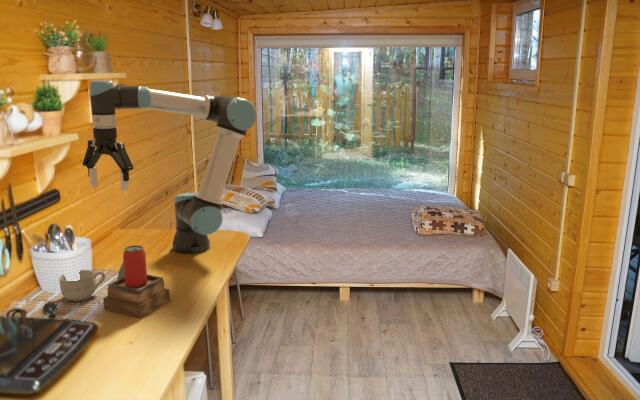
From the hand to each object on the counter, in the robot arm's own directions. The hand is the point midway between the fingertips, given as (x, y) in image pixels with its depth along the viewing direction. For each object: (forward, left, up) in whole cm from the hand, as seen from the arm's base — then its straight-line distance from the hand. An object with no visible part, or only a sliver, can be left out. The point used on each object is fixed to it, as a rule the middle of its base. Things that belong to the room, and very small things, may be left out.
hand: (109, 188), depth 193 cm
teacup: (+20, +5, -32) cm, 38 cm away
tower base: (+18, +25, -32) cm, 44 cm away
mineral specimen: (+3, +9, -32) cm, 33 cm away
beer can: (+18, +25, -25) cm, 40 cm away
